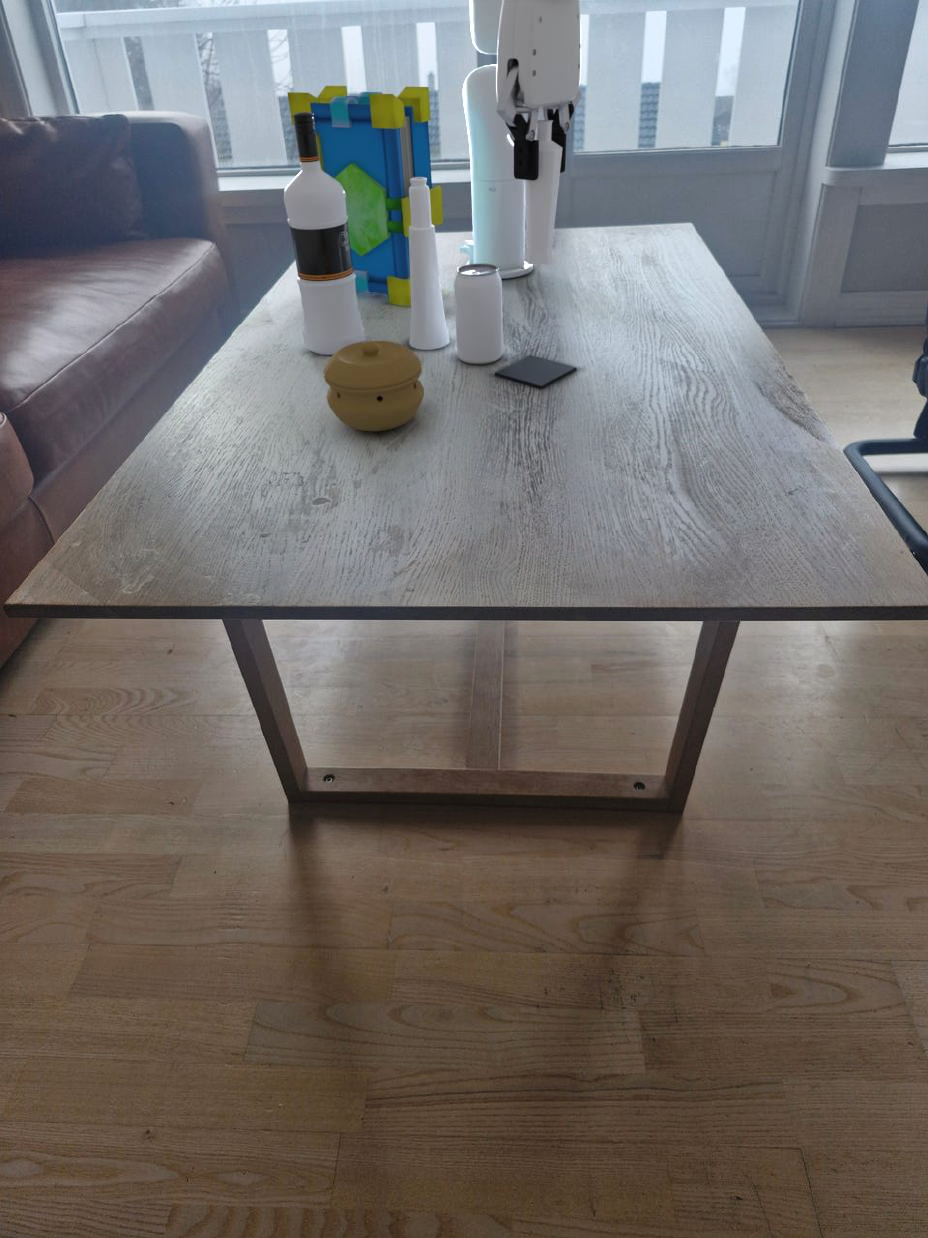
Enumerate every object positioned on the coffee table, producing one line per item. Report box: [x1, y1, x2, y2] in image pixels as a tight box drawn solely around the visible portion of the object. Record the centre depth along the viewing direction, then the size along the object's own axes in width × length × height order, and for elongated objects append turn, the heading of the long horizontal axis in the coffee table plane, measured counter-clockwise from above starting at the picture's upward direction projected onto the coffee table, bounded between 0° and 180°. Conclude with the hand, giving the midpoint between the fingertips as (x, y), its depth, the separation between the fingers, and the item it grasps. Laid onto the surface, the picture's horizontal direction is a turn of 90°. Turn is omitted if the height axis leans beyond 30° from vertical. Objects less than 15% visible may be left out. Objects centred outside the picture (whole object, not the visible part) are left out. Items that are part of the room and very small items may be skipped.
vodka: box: [283, 112, 367, 356], centre depth 111 cm, size 9×9×30 cm
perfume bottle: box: [524, 120, 562, 265], centre depth 95 cm, size 5×4×15 cm
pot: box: [323, 339, 425, 432], centre depth 95 cm, size 12×12×10 cm
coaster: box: [494, 354, 577, 390], centre depth 108 cm, size 8×8×1 cm
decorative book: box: [286, 85, 444, 308], centre depth 132 cm, size 14×23×30 cm, turn 58°
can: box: [453, 263, 503, 366], centre depth 110 cm, size 6×6×12 cm
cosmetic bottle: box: [408, 177, 450, 351], centre depth 112 cm, size 6×6×22 cm
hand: (539, 173), depth 94 cm, fingers closed on perfume bottle, 4 cm apart
